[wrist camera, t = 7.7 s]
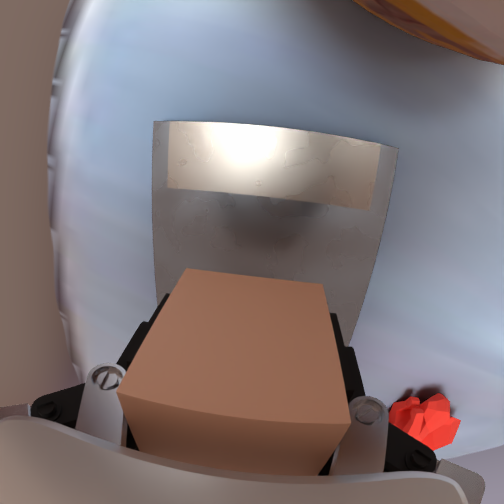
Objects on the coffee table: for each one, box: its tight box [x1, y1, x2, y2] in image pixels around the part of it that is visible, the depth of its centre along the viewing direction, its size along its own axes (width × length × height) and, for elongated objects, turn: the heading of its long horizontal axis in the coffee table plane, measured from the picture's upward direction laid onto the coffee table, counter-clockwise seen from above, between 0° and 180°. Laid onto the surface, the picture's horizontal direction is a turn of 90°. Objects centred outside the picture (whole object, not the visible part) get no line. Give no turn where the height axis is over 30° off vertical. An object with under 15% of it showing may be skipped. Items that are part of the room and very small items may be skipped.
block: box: [116, 268, 351, 476], centre depth 9 cm, size 5×5×6 cm
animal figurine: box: [388, 393, 461, 451], centre depth 24 cm, size 12×15×5 cm
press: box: [152, 121, 399, 347], centre depth 18 cm, size 20×14×6 cm
